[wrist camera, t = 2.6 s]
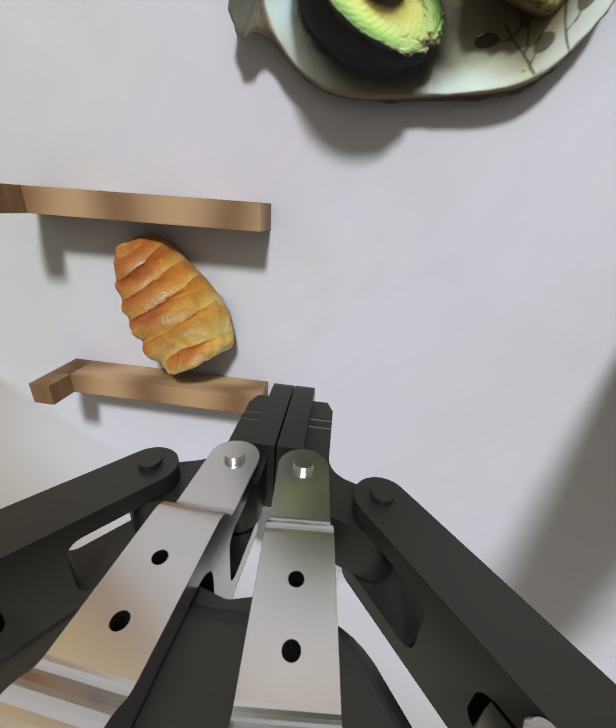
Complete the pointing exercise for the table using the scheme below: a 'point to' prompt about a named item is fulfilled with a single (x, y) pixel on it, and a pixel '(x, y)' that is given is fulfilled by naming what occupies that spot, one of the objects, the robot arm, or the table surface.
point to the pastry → (170, 305)
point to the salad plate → (421, 43)
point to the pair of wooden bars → (127, 377)
